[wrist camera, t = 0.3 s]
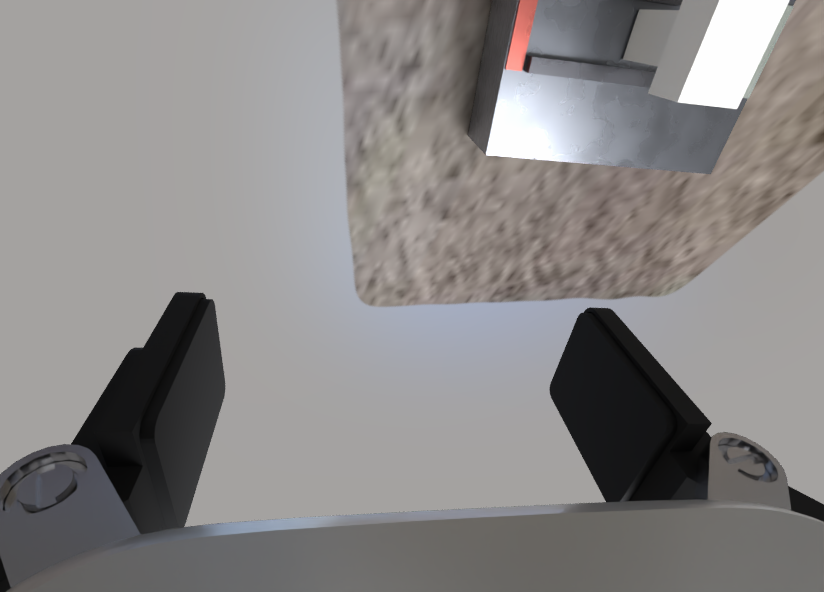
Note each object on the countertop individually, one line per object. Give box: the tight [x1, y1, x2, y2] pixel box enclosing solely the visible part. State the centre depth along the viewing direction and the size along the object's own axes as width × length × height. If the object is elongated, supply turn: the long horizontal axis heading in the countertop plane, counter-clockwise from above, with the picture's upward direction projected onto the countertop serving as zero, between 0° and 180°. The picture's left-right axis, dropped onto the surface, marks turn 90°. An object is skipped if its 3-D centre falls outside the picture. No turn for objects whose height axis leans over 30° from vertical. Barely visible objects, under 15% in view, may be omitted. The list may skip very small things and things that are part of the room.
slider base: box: [468, 0, 796, 174], centre depth 33 cm, size 18×20×7 cm
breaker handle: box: [623, 0, 790, 109], centre depth 27 cm, size 6×4×8 cm, turn 173°
